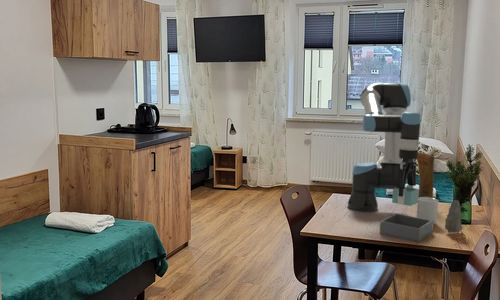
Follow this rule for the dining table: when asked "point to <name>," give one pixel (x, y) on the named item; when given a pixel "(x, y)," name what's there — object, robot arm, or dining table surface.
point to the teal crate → (407, 196)
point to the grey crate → (406, 227)
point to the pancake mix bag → (425, 175)
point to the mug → (427, 208)
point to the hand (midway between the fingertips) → (405, 202)
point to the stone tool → (454, 218)
